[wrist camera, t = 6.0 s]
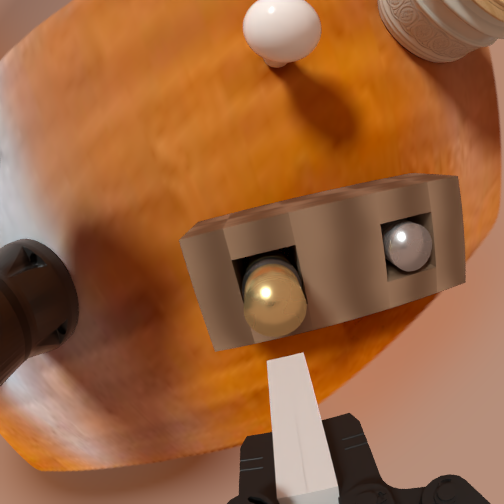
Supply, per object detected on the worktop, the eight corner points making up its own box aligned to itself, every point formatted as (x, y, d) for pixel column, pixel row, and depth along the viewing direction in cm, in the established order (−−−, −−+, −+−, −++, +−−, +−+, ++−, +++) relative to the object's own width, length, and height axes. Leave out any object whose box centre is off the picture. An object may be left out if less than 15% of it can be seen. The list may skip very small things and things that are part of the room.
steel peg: (361, 255, 32) (392, 279, 24) (355, 214, 31) (386, 227, 23) (398, 245, 32) (435, 266, 24) (392, 205, 31) (431, 216, 23)
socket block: (223, 309, 35) (215, 351, 26) (198, 222, 33) (178, 240, 24) (423, 257, 34) (465, 282, 25) (412, 173, 31) (457, 175, 22)
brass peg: (250, 299, 28) (250, 345, 21) (237, 253, 27) (232, 285, 19) (298, 288, 28) (315, 330, 20) (288, 241, 27) (302, 268, 19)
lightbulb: (317, 67, 29) (345, 24, 18) (269, 96, 29) (277, 60, 19) (281, 24, 27) (293, -30, 17) (232, 52, 28) (224, 3, 18)
